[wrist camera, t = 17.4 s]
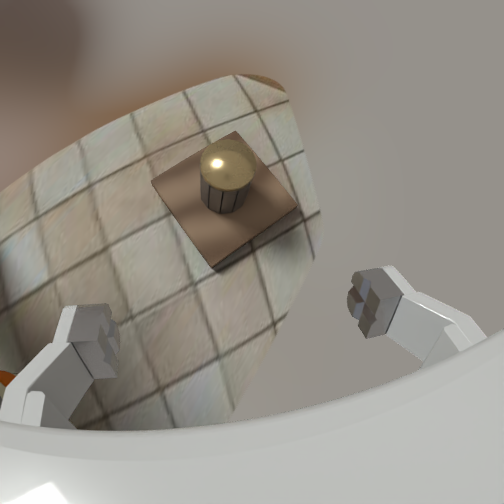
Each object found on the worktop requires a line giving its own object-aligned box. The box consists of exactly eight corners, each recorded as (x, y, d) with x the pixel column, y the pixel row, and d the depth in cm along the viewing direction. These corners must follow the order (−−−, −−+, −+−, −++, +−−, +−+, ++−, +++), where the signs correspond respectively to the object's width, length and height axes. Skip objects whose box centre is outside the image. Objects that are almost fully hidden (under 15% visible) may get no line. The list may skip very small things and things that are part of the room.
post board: (152, 185, 40) (150, 180, 38) (234, 136, 43) (235, 130, 42) (211, 268, 39) (211, 266, 37) (294, 208, 42) (297, 205, 41)
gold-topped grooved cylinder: (191, 186, 39) (189, 156, 31) (228, 163, 40) (234, 131, 33) (218, 222, 39) (221, 198, 31) (255, 197, 40) (267, 169, 32)
